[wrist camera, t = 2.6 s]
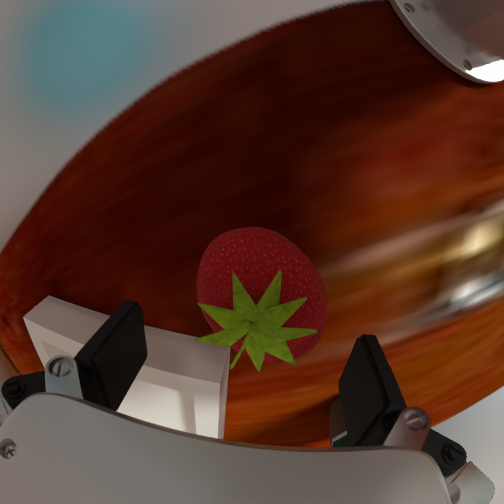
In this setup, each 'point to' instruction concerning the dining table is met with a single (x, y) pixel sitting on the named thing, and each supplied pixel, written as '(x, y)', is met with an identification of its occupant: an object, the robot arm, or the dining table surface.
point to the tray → (146, 368)
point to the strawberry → (261, 296)
